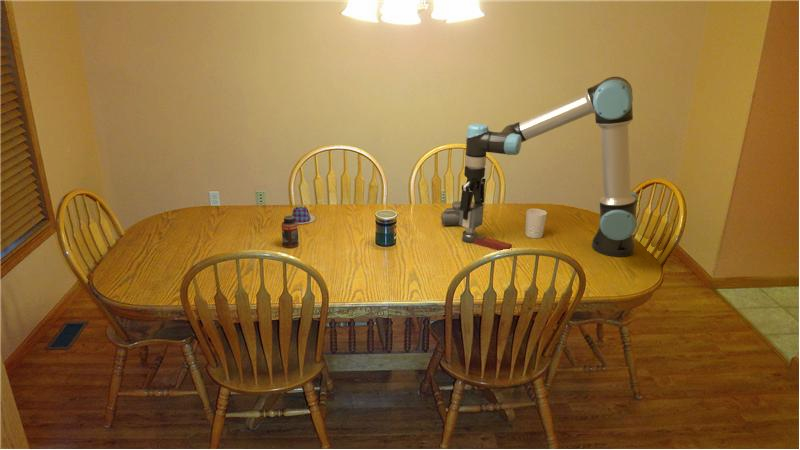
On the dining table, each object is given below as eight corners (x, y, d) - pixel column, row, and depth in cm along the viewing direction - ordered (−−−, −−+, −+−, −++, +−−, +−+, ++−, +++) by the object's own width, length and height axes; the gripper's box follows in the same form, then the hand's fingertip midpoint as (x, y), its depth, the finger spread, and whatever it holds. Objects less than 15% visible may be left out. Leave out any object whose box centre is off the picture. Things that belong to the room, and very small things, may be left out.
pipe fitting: (469, 220, 246) (468, 198, 242) (472, 229, 239) (471, 206, 234) (441, 223, 247) (439, 200, 242) (442, 231, 239) (441, 209, 235)
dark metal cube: (482, 224, 226) (483, 205, 223) (473, 229, 221) (475, 209, 218) (467, 220, 229) (469, 201, 226) (459, 225, 225) (460, 205, 222)
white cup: (544, 240, 229) (547, 216, 226) (523, 238, 231) (526, 214, 227) (543, 232, 236) (546, 209, 233) (523, 230, 238) (526, 207, 234)
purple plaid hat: (316, 215, 251) (316, 203, 249) (313, 225, 239) (313, 213, 237) (288, 215, 250) (287, 203, 248) (284, 225, 239) (283, 213, 237)
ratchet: (512, 249, 220) (514, 232, 218) (505, 254, 216) (506, 236, 213) (467, 236, 231) (468, 219, 229) (459, 240, 227) (460, 223, 224)
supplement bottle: (301, 243, 221) (300, 215, 217) (293, 249, 216) (292, 220, 212) (287, 241, 223) (286, 213, 219) (279, 247, 218) (278, 218, 214)
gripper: (479, 159, 226) (475, 215, 234) (452, 169, 212) (448, 229, 220) (496, 162, 222) (491, 219, 230) (470, 173, 207) (466, 234, 216)
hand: (470, 224), depth 225 cm, fingers closed on dark metal cube, 6 cm apart
